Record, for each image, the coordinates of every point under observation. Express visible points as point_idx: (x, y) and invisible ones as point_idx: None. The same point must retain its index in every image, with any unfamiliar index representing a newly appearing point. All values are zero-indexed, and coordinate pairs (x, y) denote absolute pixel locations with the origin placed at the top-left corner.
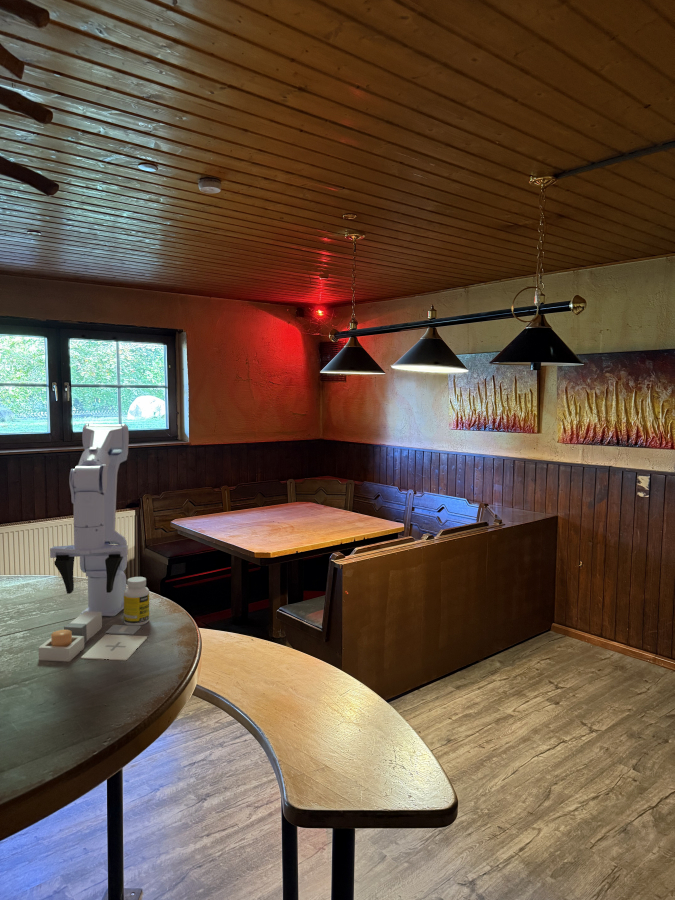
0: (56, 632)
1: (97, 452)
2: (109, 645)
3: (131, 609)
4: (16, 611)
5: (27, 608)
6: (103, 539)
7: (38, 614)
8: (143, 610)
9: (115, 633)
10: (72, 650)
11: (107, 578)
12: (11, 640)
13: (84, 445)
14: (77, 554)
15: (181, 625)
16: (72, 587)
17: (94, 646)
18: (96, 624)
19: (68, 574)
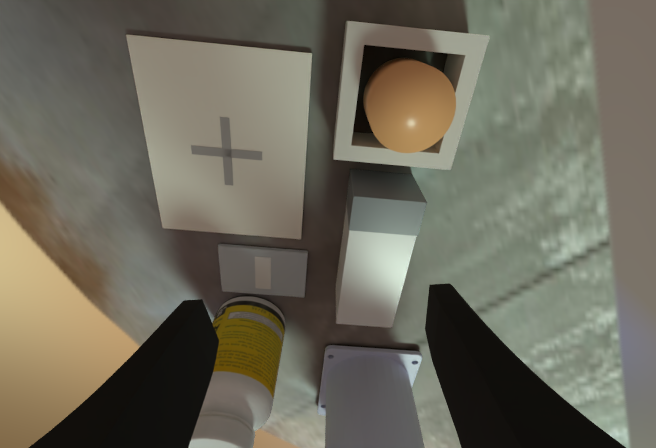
0: (437, 119)
1: None
2: (251, 159)
3: (239, 334)
4: (598, 369)
5: (571, 383)
6: None
7: (536, 355)
8: None
9: (276, 248)
10: (343, 54)
11: (138, 381)
12: (593, 201)
13: None
14: None
15: (113, 300)
16: (433, 338)
17: (299, 151)
18: (339, 274)
19: (491, 412)
